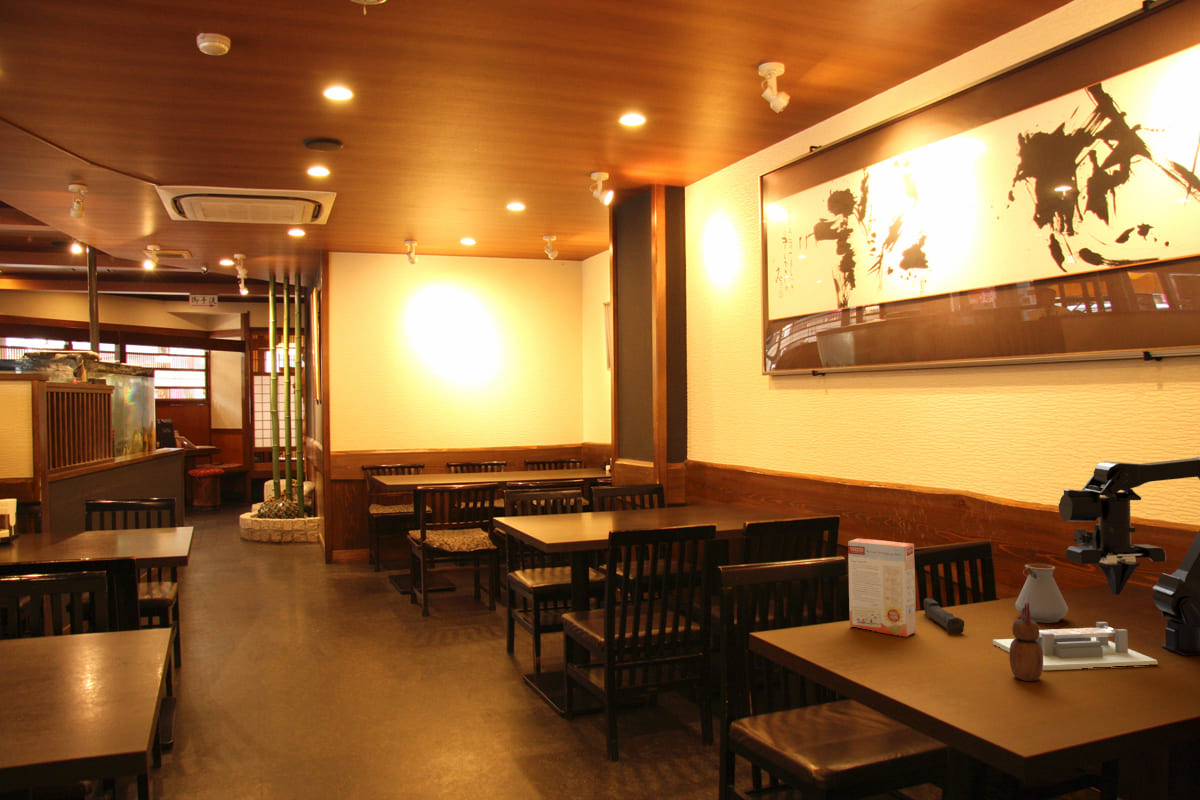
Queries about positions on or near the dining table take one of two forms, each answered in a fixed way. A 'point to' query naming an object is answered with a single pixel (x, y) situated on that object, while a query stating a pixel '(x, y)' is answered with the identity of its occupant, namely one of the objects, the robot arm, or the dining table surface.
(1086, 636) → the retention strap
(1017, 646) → the wooden figurine
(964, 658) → the dining table surface
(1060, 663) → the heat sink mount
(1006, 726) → the dining table surface
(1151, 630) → the dining table surface
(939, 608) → the hand tool
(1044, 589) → the coffee pot
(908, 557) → the cracker box
